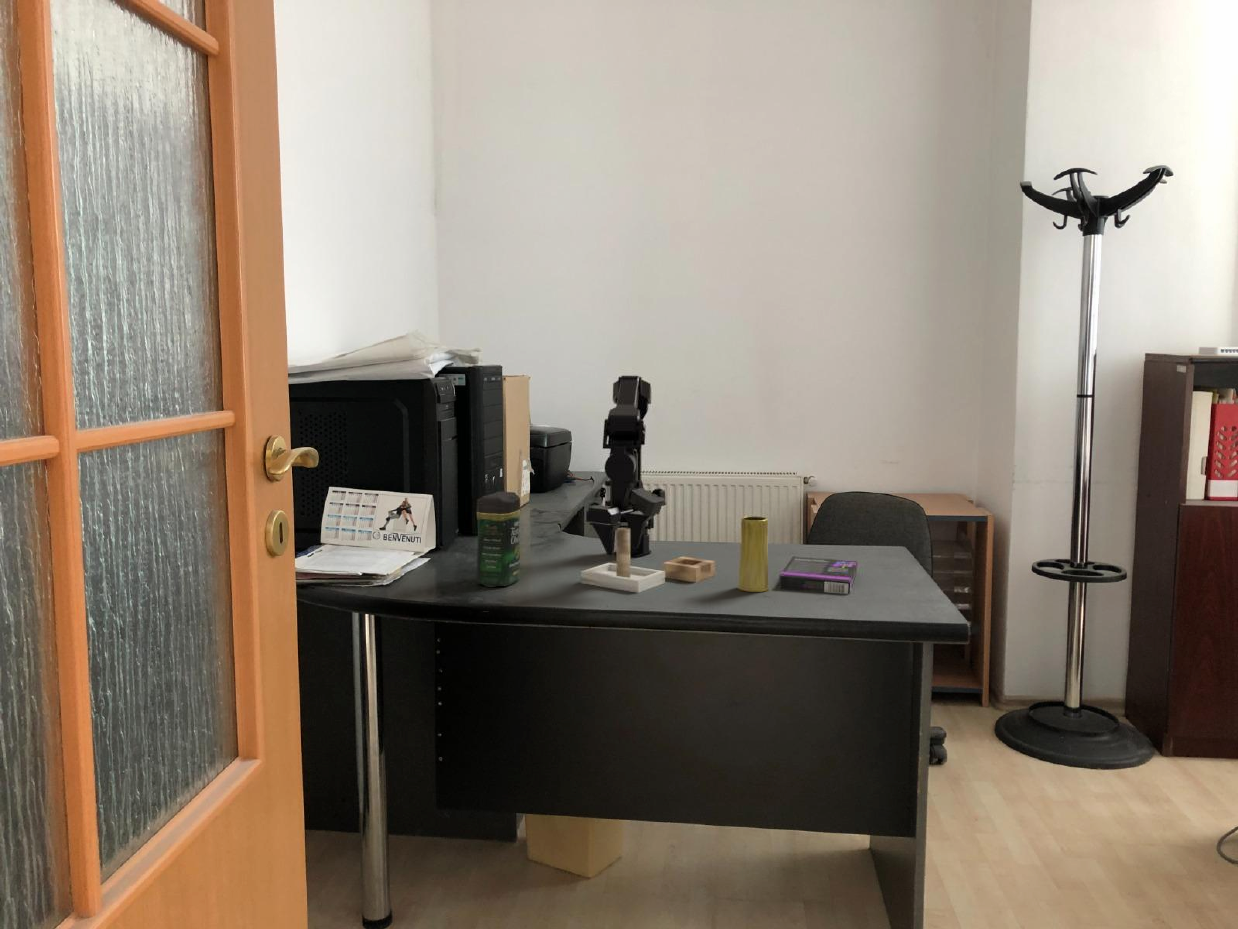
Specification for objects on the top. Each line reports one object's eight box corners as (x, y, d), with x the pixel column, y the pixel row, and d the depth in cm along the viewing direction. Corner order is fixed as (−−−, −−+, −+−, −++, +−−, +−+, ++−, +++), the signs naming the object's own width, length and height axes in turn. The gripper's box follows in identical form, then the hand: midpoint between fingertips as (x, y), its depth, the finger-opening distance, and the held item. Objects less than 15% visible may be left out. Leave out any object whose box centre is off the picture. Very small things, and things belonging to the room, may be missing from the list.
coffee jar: (507, 589, 196) (507, 496, 194) (471, 586, 199) (470, 495, 196) (526, 578, 205) (525, 490, 203) (491, 575, 208) (490, 488, 206)
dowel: (613, 577, 201) (613, 529, 200) (621, 575, 204) (621, 527, 202) (625, 579, 200) (625, 530, 199) (632, 576, 202) (633, 528, 201)
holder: (662, 577, 207) (662, 563, 207) (682, 570, 214) (682, 556, 213) (696, 582, 203) (696, 568, 202) (714, 575, 209) (715, 561, 209)
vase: (732, 586, 199) (733, 516, 198) (759, 584, 202) (760, 515, 200) (746, 593, 194) (748, 521, 192) (774, 591, 196) (776, 520, 194)
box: (849, 598, 194) (857, 575, 212) (850, 581, 193) (858, 559, 212) (778, 592, 198) (792, 569, 216) (779, 575, 198) (793, 553, 216)
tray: (580, 583, 202) (580, 571, 201) (608, 573, 210) (608, 562, 210) (638, 592, 194) (638, 580, 194) (665, 582, 202) (665, 571, 202)
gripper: (631, 484, 187) (630, 565, 189) (681, 473, 202) (680, 548, 204) (583, 479, 193) (583, 557, 195) (636, 469, 209) (635, 542, 211)
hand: (623, 551), depth 201 cm, fingers open, 9 cm apart
